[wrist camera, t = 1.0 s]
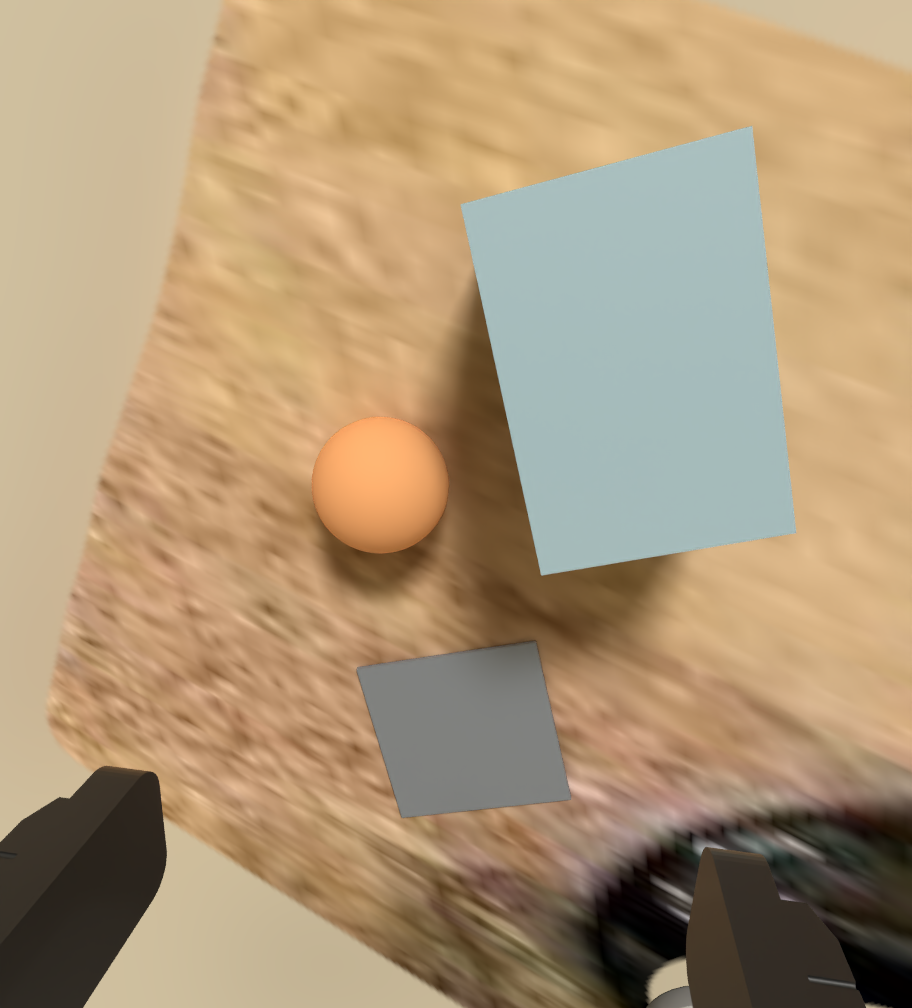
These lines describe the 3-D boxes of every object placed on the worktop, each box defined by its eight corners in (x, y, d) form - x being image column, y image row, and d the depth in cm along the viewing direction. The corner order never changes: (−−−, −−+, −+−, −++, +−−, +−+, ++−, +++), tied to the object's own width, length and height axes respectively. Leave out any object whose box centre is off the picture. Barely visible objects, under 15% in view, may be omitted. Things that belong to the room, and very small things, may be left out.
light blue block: (682, 176, 24) (752, 125, 16) (719, 452, 27) (796, 532, 19) (489, 226, 25) (460, 204, 17) (543, 486, 28) (541, 575, 20)
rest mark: (535, 640, 30) (535, 642, 30) (570, 796, 32) (571, 799, 32) (357, 667, 32) (356, 669, 32) (402, 814, 34) (401, 817, 34)
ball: (440, 393, 28) (417, 418, 23) (469, 514, 29) (453, 562, 24) (319, 420, 28) (273, 449, 24) (353, 536, 30) (316, 585, 25)
